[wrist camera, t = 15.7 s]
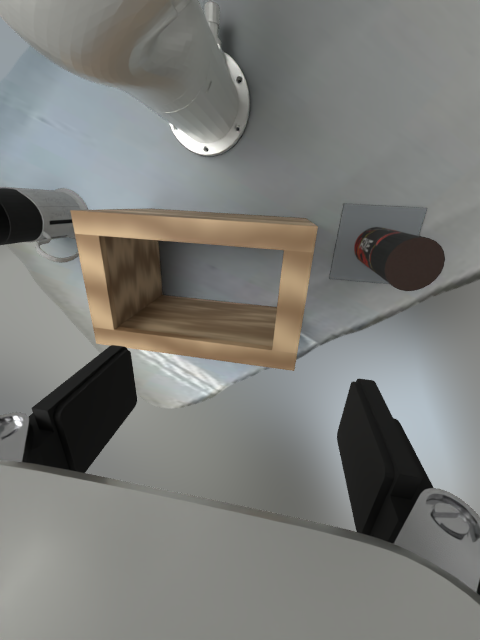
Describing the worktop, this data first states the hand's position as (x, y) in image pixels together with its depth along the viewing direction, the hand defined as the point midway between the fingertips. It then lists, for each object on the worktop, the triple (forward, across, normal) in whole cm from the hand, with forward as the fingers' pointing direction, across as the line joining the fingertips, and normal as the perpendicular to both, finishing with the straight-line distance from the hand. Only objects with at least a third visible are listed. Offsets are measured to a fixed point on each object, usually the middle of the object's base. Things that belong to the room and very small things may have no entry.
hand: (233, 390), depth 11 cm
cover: (+38, +9, +3) cm, 39 cm away
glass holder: (+38, +37, -2) cm, 53 cm away
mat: (+38, -16, -2) cm, 42 cm away
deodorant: (+38, -16, -2) cm, 41 cm away
